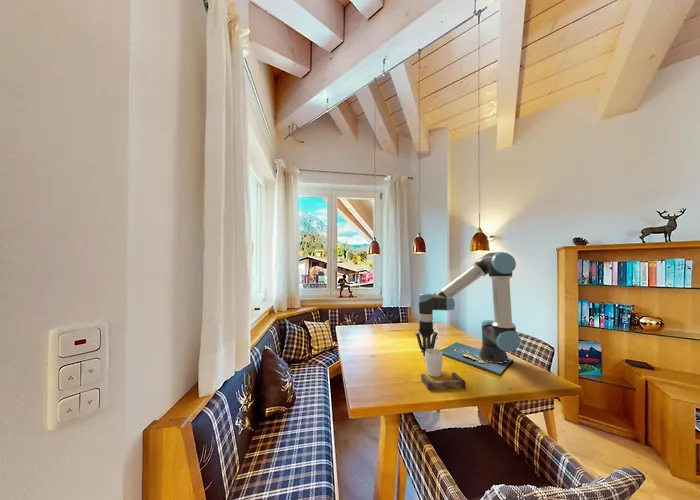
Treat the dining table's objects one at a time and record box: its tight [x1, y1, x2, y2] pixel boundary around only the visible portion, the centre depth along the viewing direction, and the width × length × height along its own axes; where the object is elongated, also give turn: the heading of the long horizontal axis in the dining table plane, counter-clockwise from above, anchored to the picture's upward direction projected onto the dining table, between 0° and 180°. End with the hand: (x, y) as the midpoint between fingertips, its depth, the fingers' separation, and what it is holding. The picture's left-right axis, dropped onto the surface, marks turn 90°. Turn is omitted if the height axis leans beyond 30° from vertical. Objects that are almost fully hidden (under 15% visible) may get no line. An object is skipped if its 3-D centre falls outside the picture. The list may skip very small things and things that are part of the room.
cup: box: [424, 348, 444, 378], centre depth 137 cm, size 9×9×12 cm
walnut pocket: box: [420, 371, 466, 391], centre depth 126 cm, size 18×10×3 cm, turn 94°
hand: (426, 362), depth 147 cm, fingers closed
